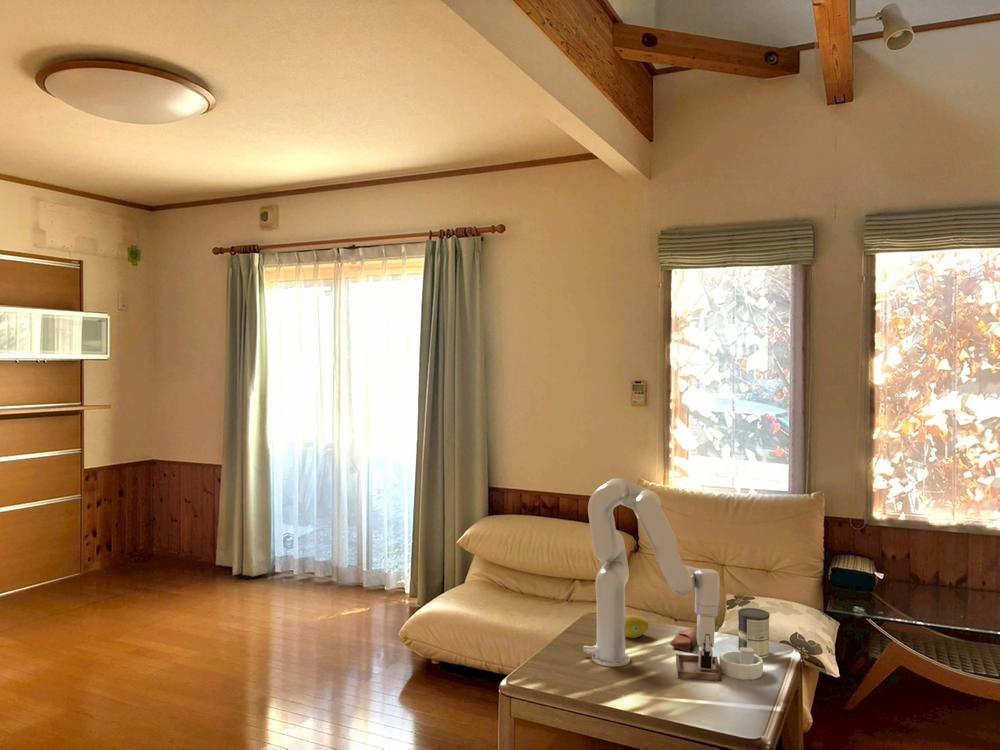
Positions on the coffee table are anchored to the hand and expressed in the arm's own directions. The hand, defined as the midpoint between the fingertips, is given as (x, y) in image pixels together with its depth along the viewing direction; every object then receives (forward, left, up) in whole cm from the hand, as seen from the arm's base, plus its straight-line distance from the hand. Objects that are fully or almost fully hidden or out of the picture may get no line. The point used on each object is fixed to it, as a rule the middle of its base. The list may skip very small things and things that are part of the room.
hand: (705, 664), depth 243 cm
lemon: (-23, +28, -2) cm, 36 cm away
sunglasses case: (-6, +26, -3) cm, 27 cm away
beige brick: (0, 0, -1) cm, 1 cm away
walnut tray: (-2, 0, -2) cm, 3 cm away
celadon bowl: (+11, +1, -2) cm, 11 cm away
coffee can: (+18, +20, -2) cm, 27 cm away
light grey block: (+13, +3, -1) cm, 14 cm away
